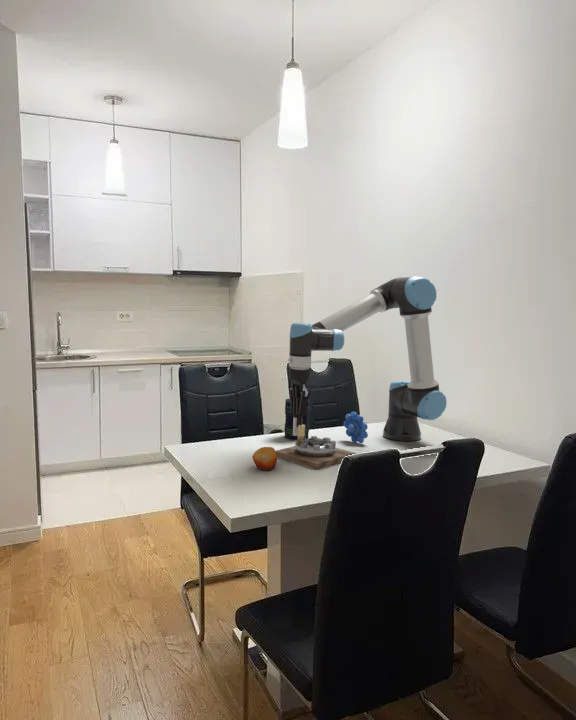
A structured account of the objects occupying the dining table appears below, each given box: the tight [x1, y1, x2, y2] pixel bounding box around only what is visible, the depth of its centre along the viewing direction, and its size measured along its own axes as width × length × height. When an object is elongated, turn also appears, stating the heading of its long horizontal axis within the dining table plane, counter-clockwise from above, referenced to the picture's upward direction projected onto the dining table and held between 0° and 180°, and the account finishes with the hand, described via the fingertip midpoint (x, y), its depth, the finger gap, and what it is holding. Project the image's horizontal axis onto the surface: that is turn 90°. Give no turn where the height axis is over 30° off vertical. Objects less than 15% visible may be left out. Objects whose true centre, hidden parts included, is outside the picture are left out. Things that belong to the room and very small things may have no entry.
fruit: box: [251, 446, 278, 471], centre depth 183 cm, size 8×8×8 cm
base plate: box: [275, 445, 356, 471], centre depth 197 cm, size 20×20×2 cm
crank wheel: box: [294, 424, 337, 457], centre depth 196 cm, size 14×14×10 cm
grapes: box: [343, 410, 369, 444], centre depth 219 cm, size 12×7×12 cm, turn 44°
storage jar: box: [283, 398, 311, 441], centre depth 224 cm, size 10×10×15 cm
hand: (297, 435), depth 197 cm, fingers closed
